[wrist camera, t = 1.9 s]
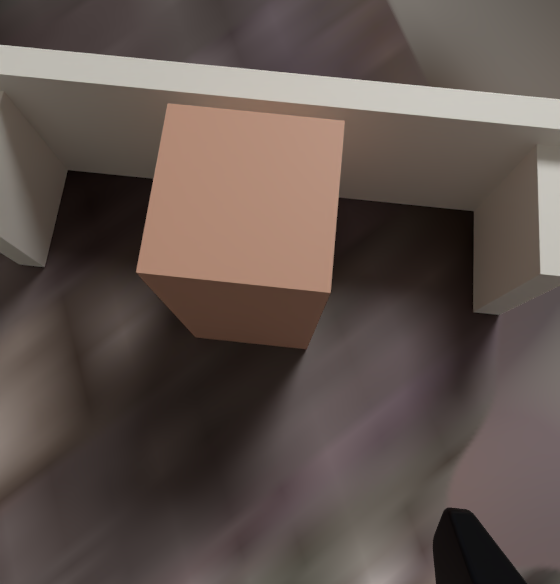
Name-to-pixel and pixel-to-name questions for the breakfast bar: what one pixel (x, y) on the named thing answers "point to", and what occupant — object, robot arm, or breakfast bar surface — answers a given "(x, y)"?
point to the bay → (297, 102)
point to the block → (243, 223)
